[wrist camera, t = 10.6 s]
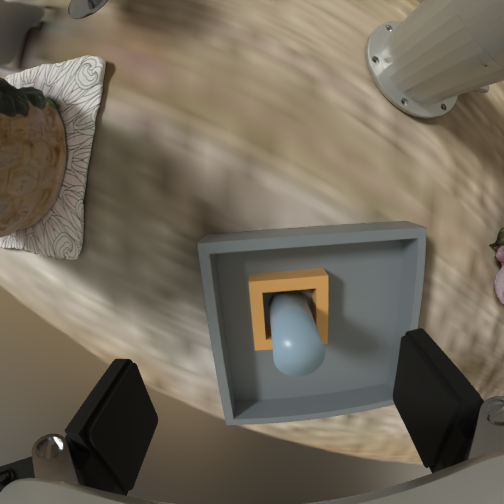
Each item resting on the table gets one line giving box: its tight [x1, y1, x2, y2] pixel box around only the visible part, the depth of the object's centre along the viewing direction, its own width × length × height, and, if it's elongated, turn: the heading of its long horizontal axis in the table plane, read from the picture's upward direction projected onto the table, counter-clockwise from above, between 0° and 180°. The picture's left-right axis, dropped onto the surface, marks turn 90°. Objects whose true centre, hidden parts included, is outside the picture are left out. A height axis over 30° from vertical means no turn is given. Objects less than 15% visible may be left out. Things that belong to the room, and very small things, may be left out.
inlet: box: [249, 268, 328, 351], centre depth 30 cm, size 8×8×2 cm
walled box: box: [197, 221, 426, 425], centre depth 31 cm, size 22×22×4 cm
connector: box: [269, 290, 325, 377], centre depth 27 cm, size 4×4×10 cm
